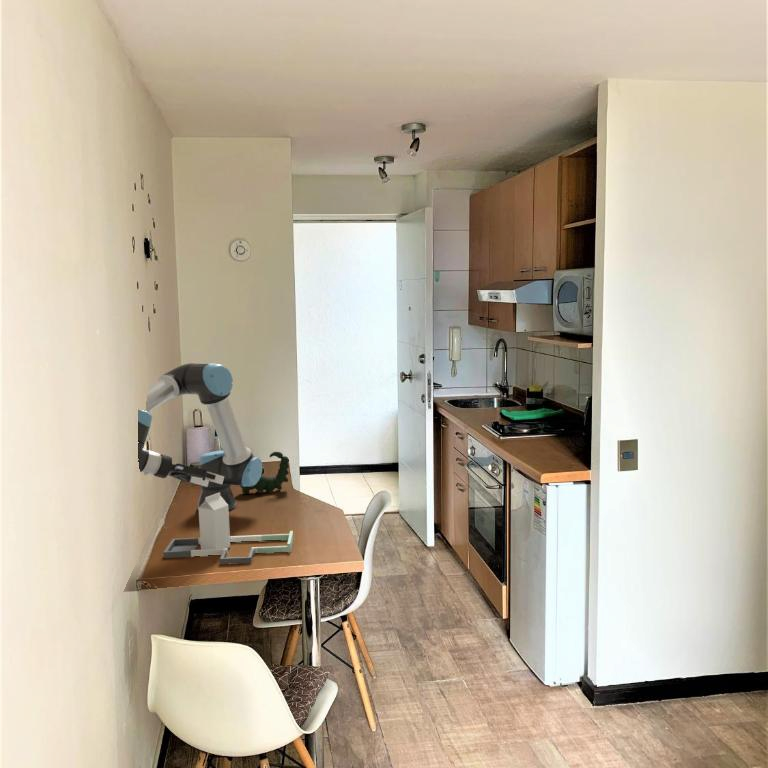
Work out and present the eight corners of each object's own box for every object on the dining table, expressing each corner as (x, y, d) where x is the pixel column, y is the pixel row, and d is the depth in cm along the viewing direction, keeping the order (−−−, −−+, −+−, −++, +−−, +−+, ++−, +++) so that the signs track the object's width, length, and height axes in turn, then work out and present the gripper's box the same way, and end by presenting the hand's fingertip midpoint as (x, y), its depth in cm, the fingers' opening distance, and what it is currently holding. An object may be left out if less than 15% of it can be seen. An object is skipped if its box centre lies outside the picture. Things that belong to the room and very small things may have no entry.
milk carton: (230, 547, 265) (227, 493, 262) (216, 553, 259) (213, 498, 256) (215, 544, 268) (212, 491, 266) (200, 550, 262) (197, 496, 260)
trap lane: (173, 544, 270) (172, 536, 269) (293, 539, 272) (292, 530, 271) (157, 567, 247) (156, 558, 246) (288, 561, 249) (288, 552, 249)
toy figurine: (286, 491, 344) (229, 491, 338) (288, 449, 342) (231, 448, 336) (288, 496, 335) (230, 496, 329) (290, 453, 333) (231, 453, 327)
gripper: (142, 478, 265) (199, 494, 276) (166, 472, 245) (226, 490, 255) (148, 457, 268) (204, 474, 278) (172, 450, 247) (232, 468, 258)
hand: (215, 481), depth 267 cm, fingers open, 13 cm apart
